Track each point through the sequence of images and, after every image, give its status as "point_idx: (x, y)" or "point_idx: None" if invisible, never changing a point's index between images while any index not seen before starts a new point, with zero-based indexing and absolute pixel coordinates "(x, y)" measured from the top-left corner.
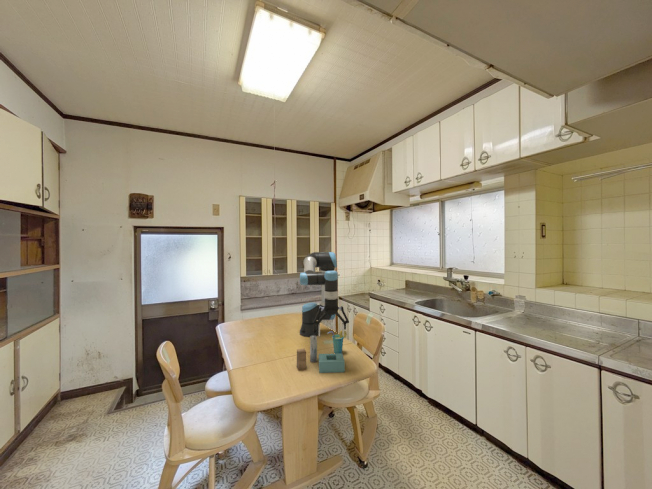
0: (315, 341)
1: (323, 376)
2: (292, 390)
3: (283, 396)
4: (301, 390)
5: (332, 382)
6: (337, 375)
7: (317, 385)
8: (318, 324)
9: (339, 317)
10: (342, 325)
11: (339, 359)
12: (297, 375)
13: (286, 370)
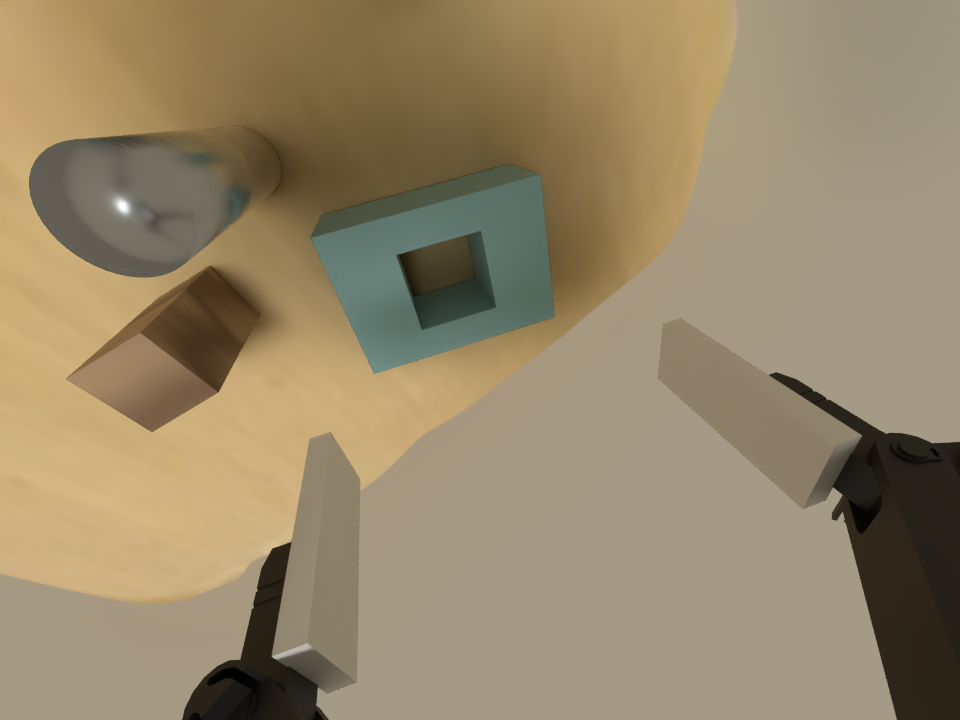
0: (214, 235)
1: None
2: None
3: (287, 529)
4: None
5: (470, 394)
6: None
7: (403, 434)
8: (311, 692)
9: (918, 714)
10: (783, 455)
11: (518, 299)
12: (246, 394)
13: None
